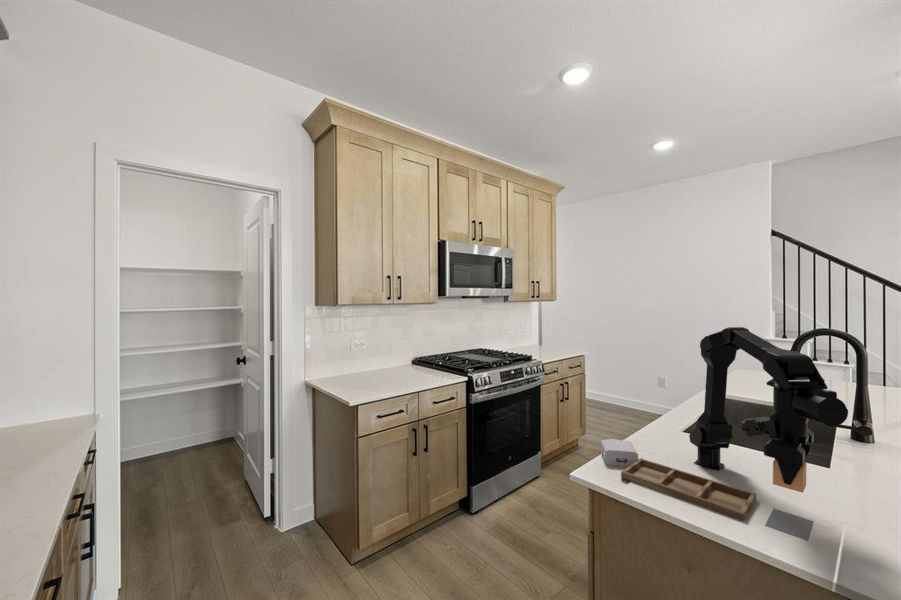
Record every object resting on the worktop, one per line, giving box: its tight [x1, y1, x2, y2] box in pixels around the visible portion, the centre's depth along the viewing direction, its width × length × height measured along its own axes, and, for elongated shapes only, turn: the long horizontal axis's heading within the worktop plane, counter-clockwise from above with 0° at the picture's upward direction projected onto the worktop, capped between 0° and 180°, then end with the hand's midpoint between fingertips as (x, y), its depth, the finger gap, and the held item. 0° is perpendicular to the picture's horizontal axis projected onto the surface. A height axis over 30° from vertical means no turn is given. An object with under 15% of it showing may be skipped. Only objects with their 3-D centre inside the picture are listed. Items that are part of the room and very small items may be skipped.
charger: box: [600, 438, 639, 467], centre depth 123 cm, size 5×9×15 cm
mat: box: [764, 508, 815, 542], centre depth 86 cm, size 10×7×1 cm
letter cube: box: [772, 458, 807, 493], centre depth 86 cm, size 5×5×5 cm
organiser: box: [620, 458, 757, 522], centre depth 101 cm, size 13×28×2 cm, turn 41°
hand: (789, 480), depth 86 cm, fingers closed on letter cube, 5 cm apart
